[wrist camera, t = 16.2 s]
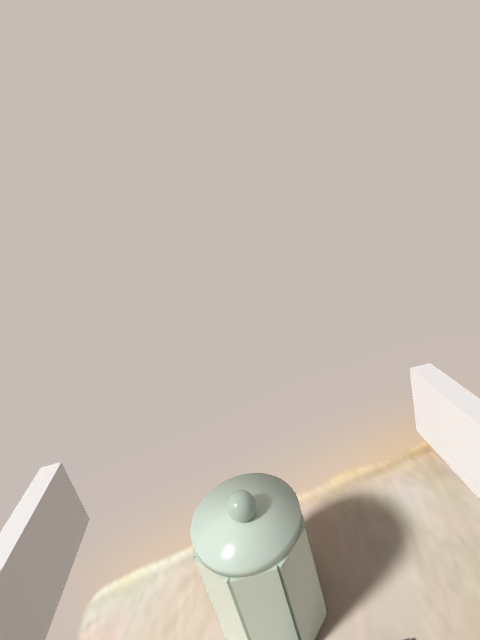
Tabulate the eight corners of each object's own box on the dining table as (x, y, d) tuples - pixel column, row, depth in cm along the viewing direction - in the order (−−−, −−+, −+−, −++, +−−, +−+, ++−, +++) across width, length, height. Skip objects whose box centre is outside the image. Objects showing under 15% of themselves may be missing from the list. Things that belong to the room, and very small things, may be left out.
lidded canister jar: (308, 547, 42) (281, 444, 37) (338, 648, 32) (307, 527, 28) (222, 570, 42) (185, 470, 37) (227, 679, 32) (179, 562, 28)
